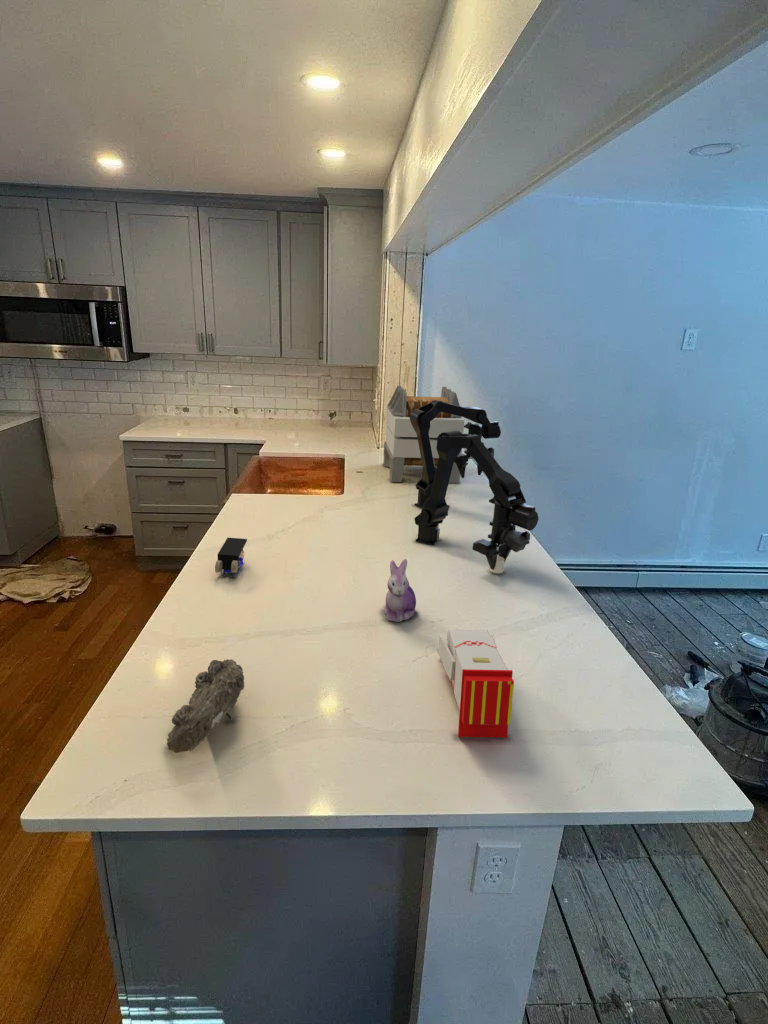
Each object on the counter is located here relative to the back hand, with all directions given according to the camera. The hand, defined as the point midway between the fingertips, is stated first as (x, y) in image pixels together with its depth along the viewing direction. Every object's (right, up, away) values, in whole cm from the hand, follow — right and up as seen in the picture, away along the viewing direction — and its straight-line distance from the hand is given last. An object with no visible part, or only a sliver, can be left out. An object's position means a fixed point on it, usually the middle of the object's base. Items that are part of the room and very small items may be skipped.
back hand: (471, 476), depth 233 cm
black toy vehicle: (-81, -32, -65) cm, 108 cm away
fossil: (-69, -54, -125) cm, 152 cm away
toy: (-18, -52, -114) cm, 127 cm away
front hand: (-1, -32, -59) cm, 67 cm away
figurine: (-32, -41, -85) cm, 100 cm away
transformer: (-19, +4, +42) cm, 46 cm away
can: (-1, -33, -59) cm, 67 cm away
